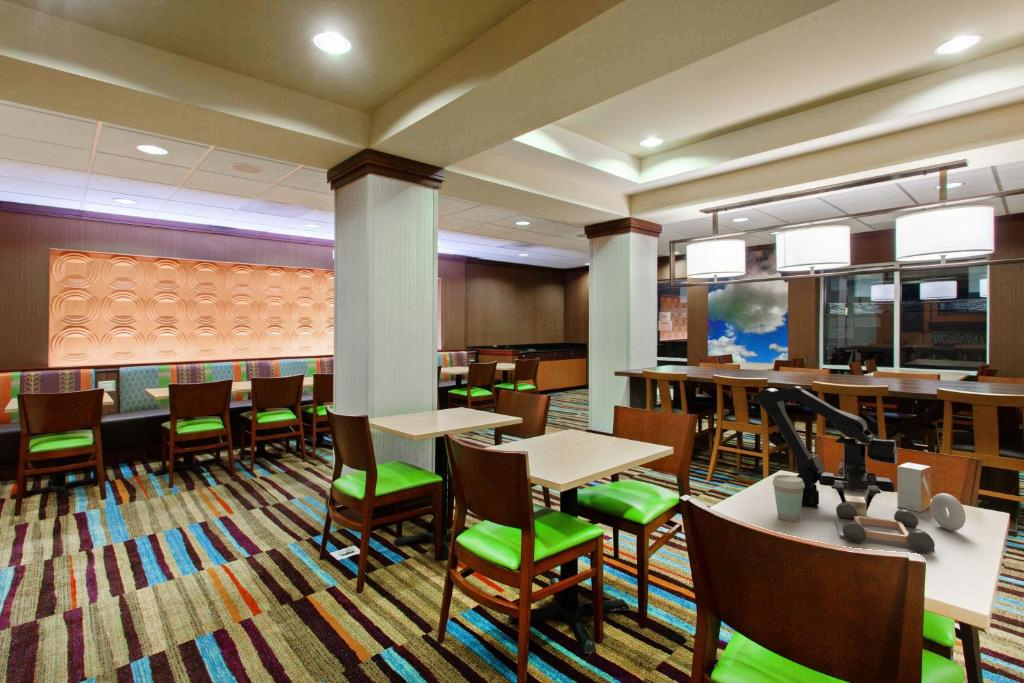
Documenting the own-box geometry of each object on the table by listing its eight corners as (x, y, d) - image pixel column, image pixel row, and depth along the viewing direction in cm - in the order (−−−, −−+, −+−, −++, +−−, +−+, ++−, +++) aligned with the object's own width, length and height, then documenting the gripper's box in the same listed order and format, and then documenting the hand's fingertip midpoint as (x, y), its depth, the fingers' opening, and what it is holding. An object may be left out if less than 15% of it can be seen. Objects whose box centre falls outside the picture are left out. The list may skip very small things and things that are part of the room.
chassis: (841, 541, 134) (841, 522, 134) (834, 517, 151) (833, 501, 151) (937, 555, 125) (937, 535, 125) (918, 528, 142) (918, 510, 142)
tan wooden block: (846, 515, 153) (846, 501, 153) (844, 509, 158) (844, 495, 158) (866, 518, 150) (866, 503, 150) (863, 511, 156) (863, 497, 156)
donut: (927, 522, 146) (927, 488, 146) (940, 522, 146) (939, 488, 146) (955, 536, 136) (955, 499, 136) (969, 536, 136) (969, 499, 136)
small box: (921, 512, 154) (921, 470, 154) (896, 507, 159) (896, 465, 159) (931, 507, 158) (931, 465, 158) (907, 502, 164) (906, 461, 164)
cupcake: (861, 494, 172) (861, 465, 172) (832, 487, 180) (831, 459, 180) (876, 489, 177) (876, 461, 176) (847, 482, 185) (846, 455, 185)
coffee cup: (801, 514, 155) (801, 475, 154) (808, 524, 147) (807, 483, 146) (770, 511, 157) (770, 473, 157) (775, 521, 149) (774, 481, 149)
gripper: (820, 461, 151) (821, 513, 151) (898, 468, 143) (898, 523, 143) (818, 453, 161) (818, 502, 161) (890, 459, 152) (890, 510, 153)
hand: (855, 509), depth 154 cm, fingers closed on tan wooden block, 5 cm apart
